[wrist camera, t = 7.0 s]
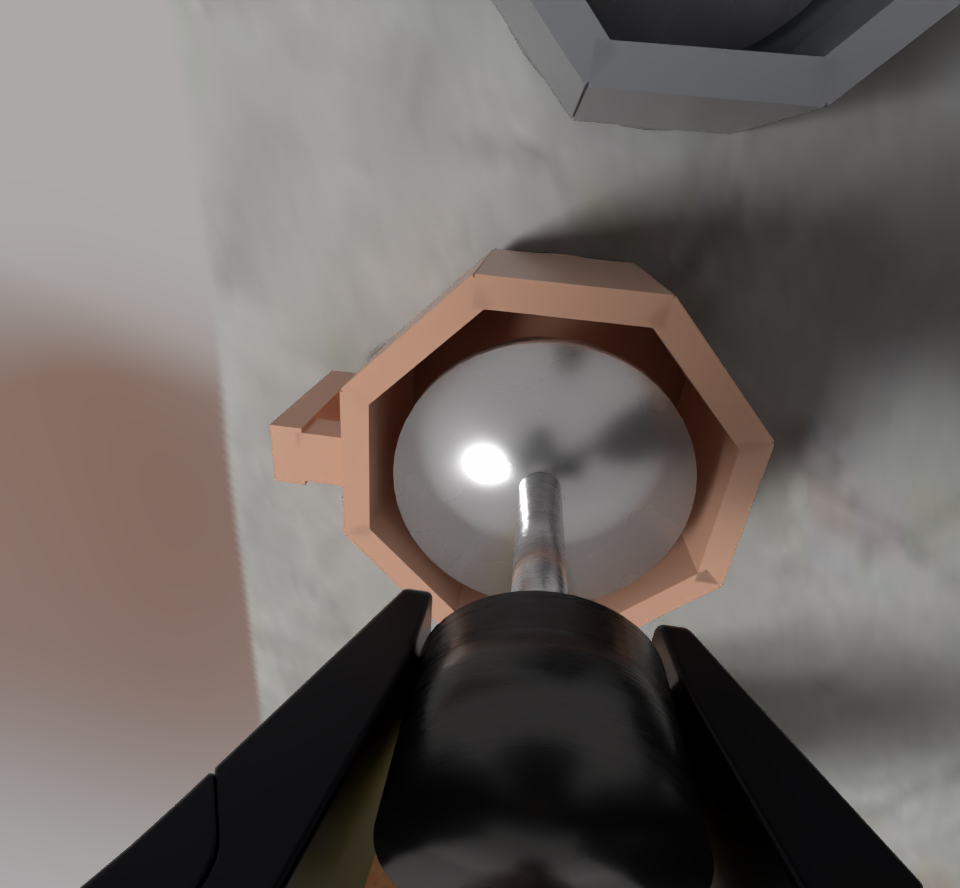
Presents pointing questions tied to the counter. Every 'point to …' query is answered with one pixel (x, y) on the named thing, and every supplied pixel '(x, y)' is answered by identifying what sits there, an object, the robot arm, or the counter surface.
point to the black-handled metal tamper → (542, 631)
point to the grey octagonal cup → (713, 63)
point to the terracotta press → (517, 314)
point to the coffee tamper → (694, 20)
